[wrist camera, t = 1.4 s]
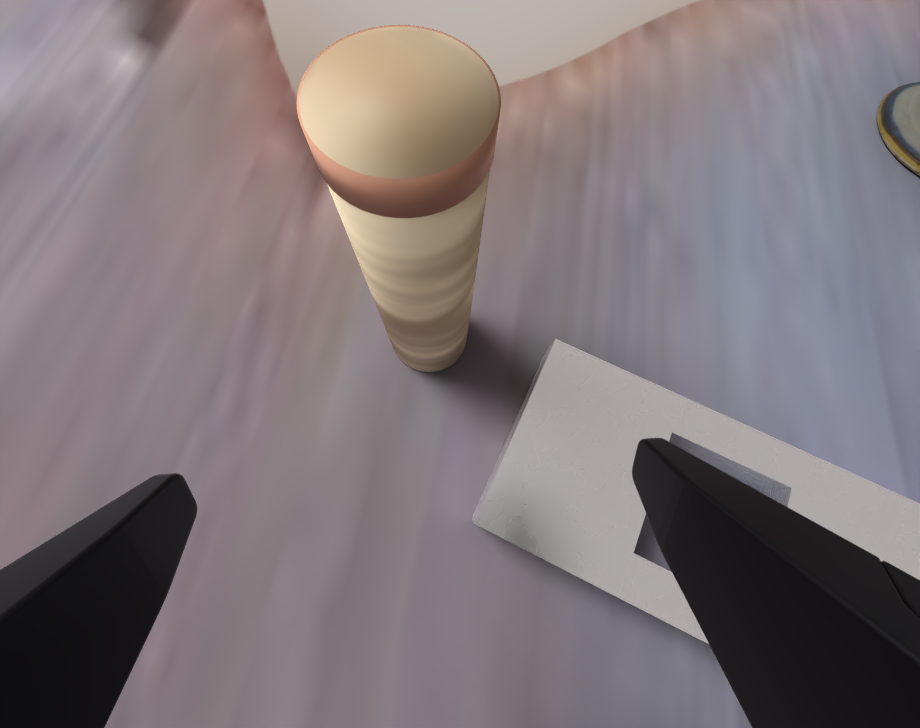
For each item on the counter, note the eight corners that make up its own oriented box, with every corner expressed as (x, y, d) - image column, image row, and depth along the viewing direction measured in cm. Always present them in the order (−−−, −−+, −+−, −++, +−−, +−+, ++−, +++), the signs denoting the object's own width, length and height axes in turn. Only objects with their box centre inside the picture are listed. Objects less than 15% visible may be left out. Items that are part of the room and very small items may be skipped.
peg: (446, 386, 22) (445, 213, 8) (376, 352, 23) (255, 130, 8) (480, 320, 24) (532, 66, 9) (413, 289, 24) (362, 1, 10)
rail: (858, 717, 18) (920, 753, 16) (471, 518, 20) (474, 523, 18) (889, 511, 21) (945, 515, 19) (544, 353, 23) (555, 338, 21)
